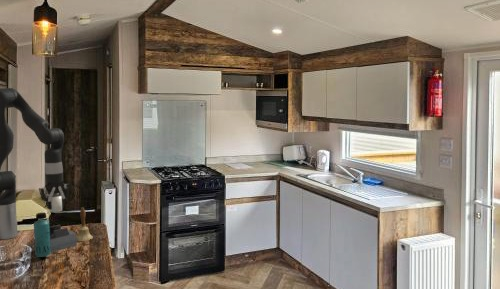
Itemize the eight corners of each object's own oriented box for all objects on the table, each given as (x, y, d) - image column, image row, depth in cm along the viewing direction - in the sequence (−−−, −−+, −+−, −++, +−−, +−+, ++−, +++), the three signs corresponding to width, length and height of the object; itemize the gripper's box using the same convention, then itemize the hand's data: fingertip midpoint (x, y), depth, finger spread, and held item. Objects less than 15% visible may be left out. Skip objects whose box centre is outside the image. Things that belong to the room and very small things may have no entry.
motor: (40, 255, 192) (38, 234, 191) (32, 251, 197) (31, 231, 196) (76, 245, 204) (75, 226, 203) (68, 241, 210) (67, 222, 208)
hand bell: (94, 239, 212) (93, 208, 211) (76, 242, 208) (75, 210, 206) (90, 234, 219) (89, 204, 218) (73, 237, 215) (72, 206, 213)
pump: (48, 211, 199) (47, 193, 198) (59, 208, 203) (58, 191, 202) (53, 213, 196) (52, 194, 195) (64, 210, 200) (63, 192, 199)
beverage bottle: (33, 261, 185) (30, 215, 183) (36, 255, 192) (34, 211, 189) (50, 259, 187) (47, 214, 185) (52, 254, 193) (50, 210, 191)
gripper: (65, 168, 205) (67, 203, 207) (34, 173, 195) (36, 209, 197) (73, 170, 200) (74, 206, 202) (41, 175, 190) (43, 212, 192)
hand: (56, 207), depth 199 cm, fingers closed on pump, 5 cm apart
